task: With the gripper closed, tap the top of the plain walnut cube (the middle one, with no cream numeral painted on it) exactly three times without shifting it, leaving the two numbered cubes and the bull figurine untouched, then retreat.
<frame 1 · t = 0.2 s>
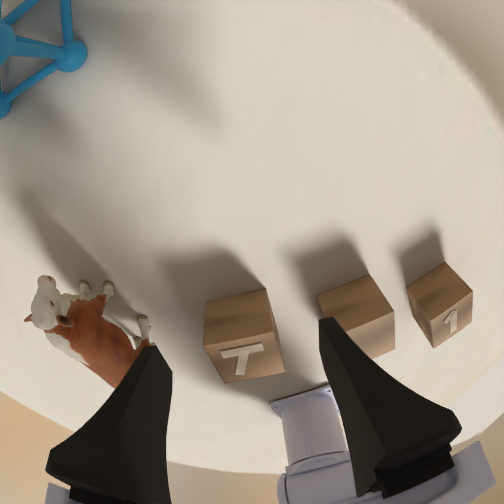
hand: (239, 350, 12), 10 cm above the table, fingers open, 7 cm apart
molecular structure: (36, 41, 11), on the table
cube seven: (243, 316, 24), on the table
bull figurine: (114, 300, 23), on the table
cube one: (428, 290, 25), on the table
plain cube: (348, 304, 24), on the table
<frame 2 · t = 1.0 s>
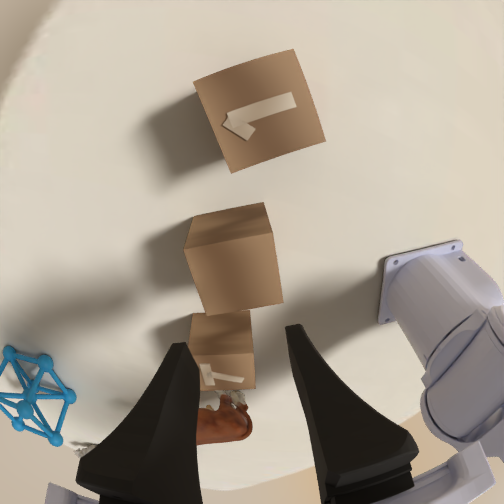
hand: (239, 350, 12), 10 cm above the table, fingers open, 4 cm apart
molecular structure: (41, 369, 29), on the table
soldier figure: (96, 444, 43), on the table
cube seven: (224, 331, 25), on the table
bull figurine: (196, 391, 31), on the table
cube one: (254, 108, 16), on the table
plain cube: (235, 239, 21), on the table
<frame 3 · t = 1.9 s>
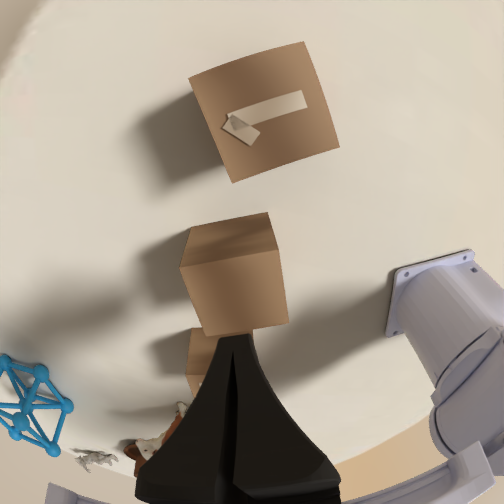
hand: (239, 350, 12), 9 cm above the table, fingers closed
molecular structure: (38, 378, 27), on the table
soldier figure: (97, 452, 42), on the table
cube seven: (224, 345, 24), on the table
bull figurine: (196, 404, 29), on the table
cube one: (257, 109, 15), on the table
plain cube: (236, 252, 19), on the table
cup and saucer: (158, 449, 38), on the table
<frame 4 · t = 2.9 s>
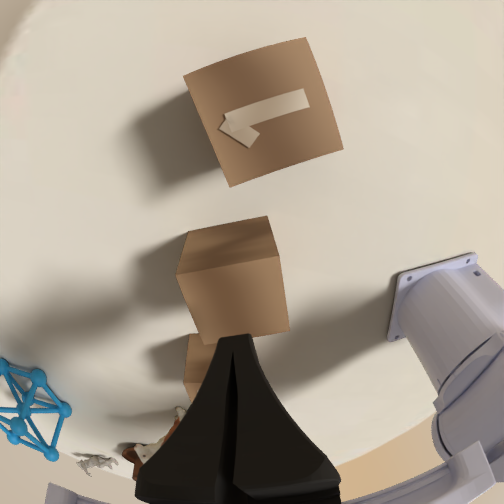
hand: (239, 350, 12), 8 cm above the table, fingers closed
molecular structure: (35, 382, 27), on the table
soldier figure: (97, 455, 41), on the table
cube seven: (223, 351, 23), on the table
bull figurine: (195, 409, 28), on the table
cube one: (256, 108, 14), on the table
plain cube: (235, 257, 19), on the table
cup and saucer: (156, 452, 37), on the table
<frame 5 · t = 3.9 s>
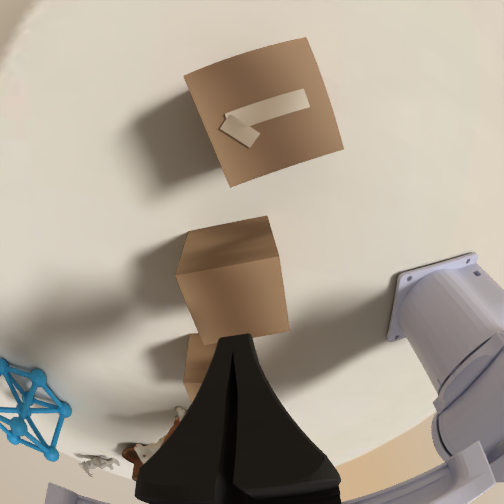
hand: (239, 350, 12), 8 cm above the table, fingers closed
molecular structure: (35, 382, 27), on the table
soldier figure: (99, 456, 41), on the table
cube seven: (223, 351, 23), on the table
bull figurine: (195, 409, 28), on the table
cube one: (256, 108, 14), on the table
plain cube: (235, 257, 19), on the table
cup and saucer: (156, 452, 37), on the table
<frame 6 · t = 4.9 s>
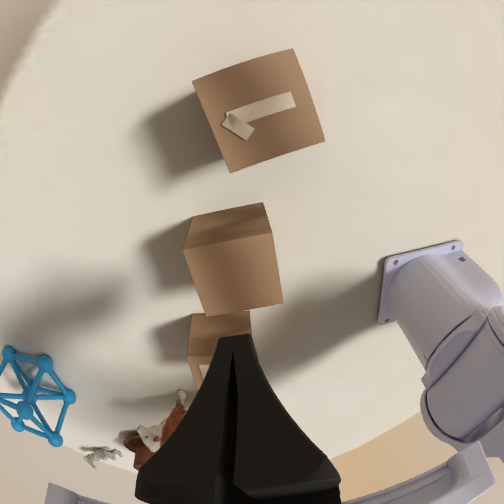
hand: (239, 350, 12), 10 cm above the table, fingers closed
molecular structure: (41, 369, 29), on the table
soldier figure: (103, 448, 44), on the table
cube seven: (223, 331, 25), on the table
bull figurine: (196, 392, 31), on the table
cube one: (253, 108, 16), on the table
plain cube: (234, 240, 21), on the table
cup and saucer: (157, 441, 39), on the table
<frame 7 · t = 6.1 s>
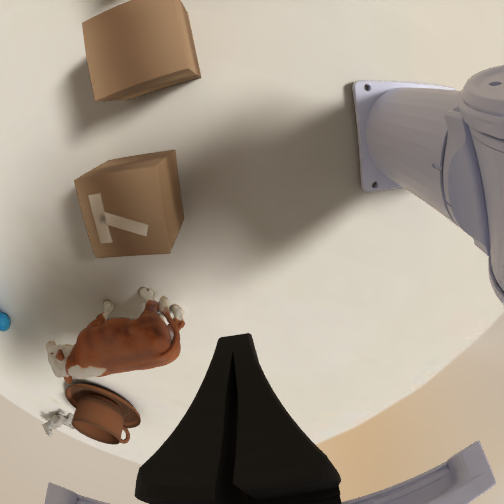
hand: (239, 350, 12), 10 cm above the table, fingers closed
soldier figure: (61, 414, 38), on the table
cube seven: (145, 188, 18), on the table
bull figurine: (126, 306, 24), on the table
plain cube: (156, 54, 14), on the table
cup and saucer: (105, 398, 33), on the table
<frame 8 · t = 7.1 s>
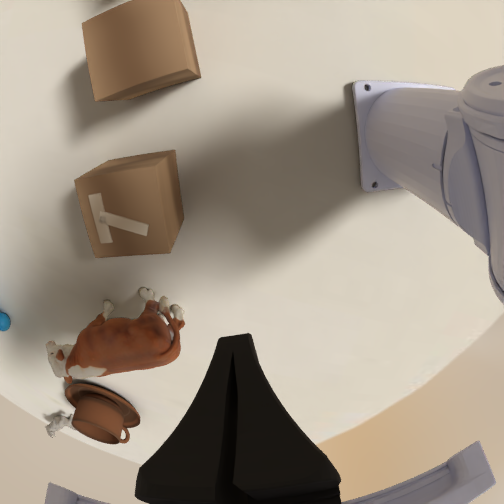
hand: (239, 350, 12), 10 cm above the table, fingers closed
soldier figure: (63, 416, 39), on the table
cube seven: (145, 188, 18), on the table
bull figurine: (126, 306, 24), on the table
plain cube: (156, 54, 14), on the table
cup and saucer: (104, 398, 33), on the table
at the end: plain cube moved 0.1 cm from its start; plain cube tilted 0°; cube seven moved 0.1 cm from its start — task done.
